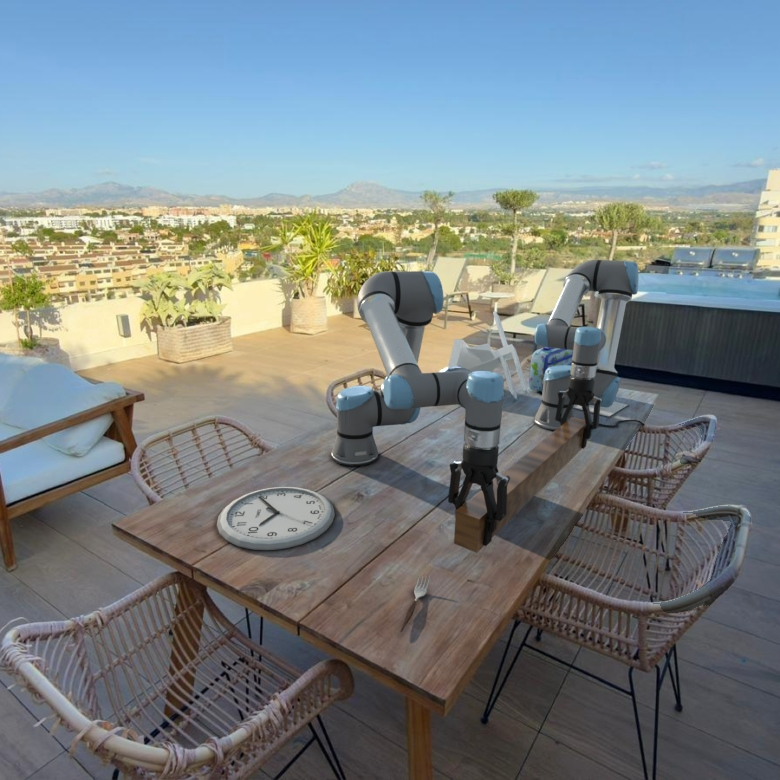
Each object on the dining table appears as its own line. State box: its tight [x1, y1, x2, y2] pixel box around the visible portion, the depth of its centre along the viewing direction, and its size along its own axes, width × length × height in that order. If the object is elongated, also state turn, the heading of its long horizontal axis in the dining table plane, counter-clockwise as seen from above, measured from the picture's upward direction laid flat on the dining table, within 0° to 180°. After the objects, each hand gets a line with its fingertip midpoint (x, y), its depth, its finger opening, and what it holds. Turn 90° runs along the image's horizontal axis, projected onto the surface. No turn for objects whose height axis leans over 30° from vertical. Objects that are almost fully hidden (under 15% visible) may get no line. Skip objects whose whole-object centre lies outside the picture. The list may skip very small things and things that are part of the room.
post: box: [453, 416, 586, 554], centre depth 144 cm, size 77×6×8 cm, turn 143°
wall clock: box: [216, 486, 336, 551], centre depth 136 cm, size 30×2×30 cm
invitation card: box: [573, 401, 629, 418], centre depth 226 cm, size 21×1×15 cm
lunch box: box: [528, 346, 573, 393], centre depth 247 cm, size 26×11×21 cm, turn 134°
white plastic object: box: [438, 310, 531, 400], centre depth 245 cm, size 37×45×31 cm
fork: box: [400, 573, 431, 633], centre depth 105 cm, size 3×16×2 cm, turn 160°
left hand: (474, 537), depth 119 cm, fingers closed on post, 6 cm apart
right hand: (573, 444), depth 171 cm, fingers closed on post, 6 cm apart
